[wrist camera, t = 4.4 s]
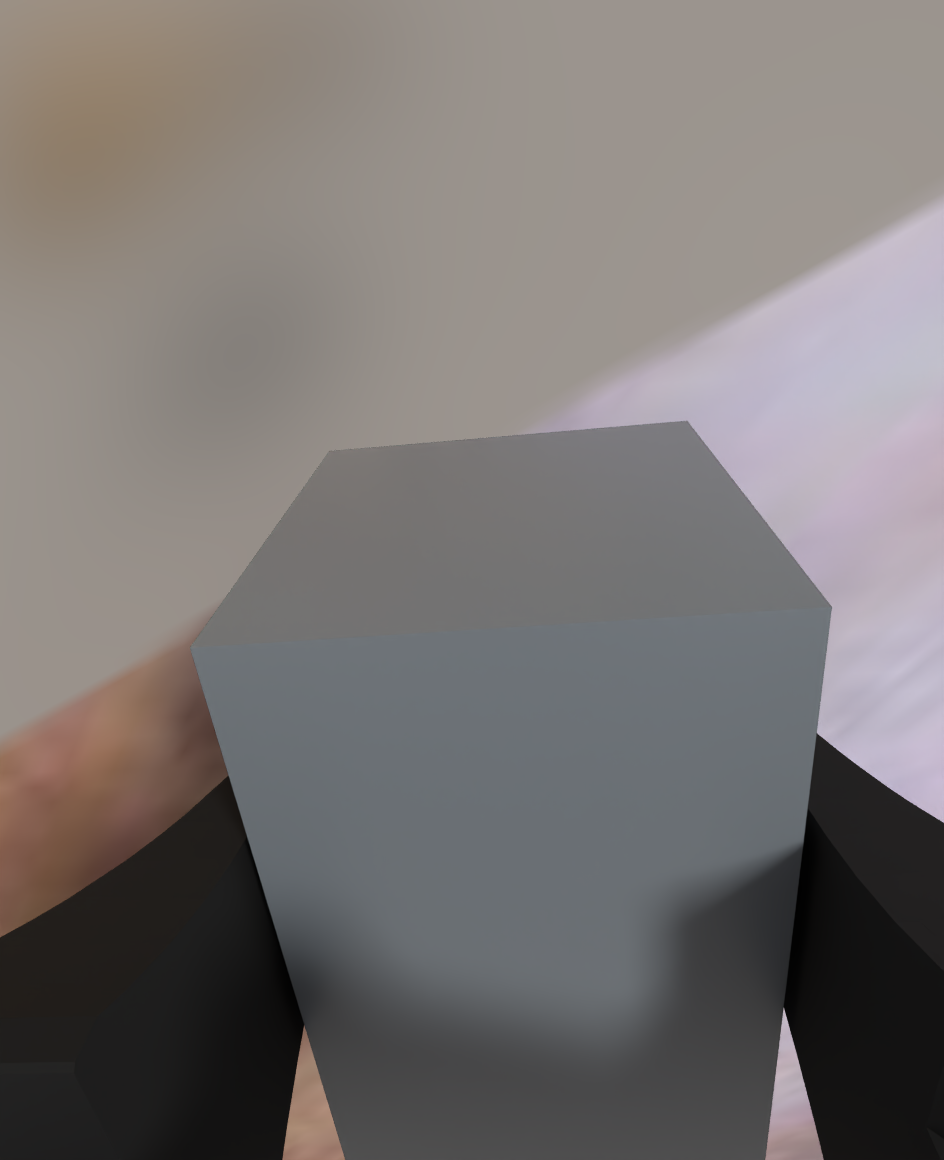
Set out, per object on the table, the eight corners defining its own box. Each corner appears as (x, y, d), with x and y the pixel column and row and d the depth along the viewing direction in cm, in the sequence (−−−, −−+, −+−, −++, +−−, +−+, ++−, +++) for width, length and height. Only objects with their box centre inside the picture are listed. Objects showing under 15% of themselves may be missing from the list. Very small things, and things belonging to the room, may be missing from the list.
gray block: (687, 420, 13) (831, 606, 7) (677, 832, 17) (764, 1165, 11) (329, 450, 13) (189, 647, 7) (402, 843, 17) (347, 1168, 11)
